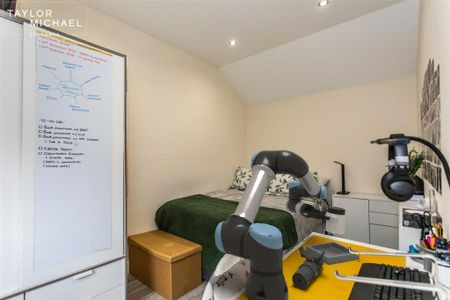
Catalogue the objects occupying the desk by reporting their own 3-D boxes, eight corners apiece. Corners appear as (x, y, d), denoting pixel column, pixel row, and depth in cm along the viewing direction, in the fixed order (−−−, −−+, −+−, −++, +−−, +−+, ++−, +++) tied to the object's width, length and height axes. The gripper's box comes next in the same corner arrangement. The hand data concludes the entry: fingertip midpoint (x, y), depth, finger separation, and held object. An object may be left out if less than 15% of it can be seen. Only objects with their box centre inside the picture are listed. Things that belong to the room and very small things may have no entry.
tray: (328, 264, 106) (328, 258, 106) (305, 251, 121) (305, 245, 121) (359, 259, 111) (359, 252, 111) (334, 247, 126) (334, 241, 126)
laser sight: (286, 285, 89) (286, 258, 90) (306, 263, 107) (306, 241, 108) (312, 294, 83) (312, 265, 84) (329, 270, 101) (328, 246, 102)
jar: (321, 229, 121) (323, 206, 122) (334, 229, 124) (336, 206, 124) (335, 235, 113) (336, 209, 113) (348, 234, 115) (349, 210, 116)
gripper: (315, 215, 137) (347, 226, 115) (295, 217, 133) (325, 229, 111) (314, 202, 137) (347, 211, 115) (295, 204, 133) (324, 213, 111)
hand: (336, 220), depth 113 cm, fingers closed on jar
